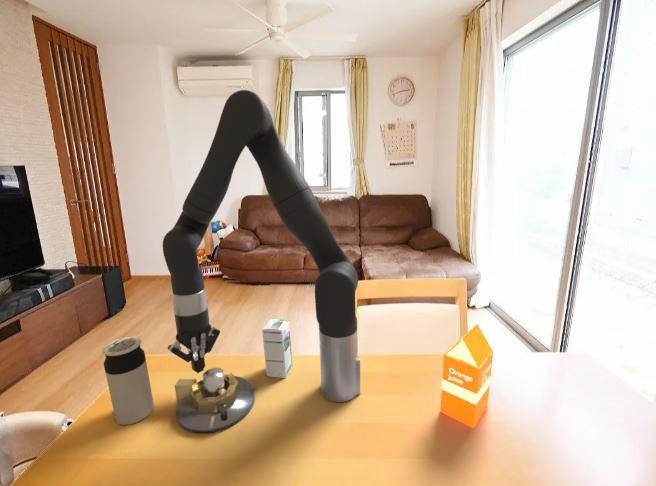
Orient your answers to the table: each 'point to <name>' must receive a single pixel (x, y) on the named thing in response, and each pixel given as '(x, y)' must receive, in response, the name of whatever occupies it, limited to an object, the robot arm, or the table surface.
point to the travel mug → (128, 380)
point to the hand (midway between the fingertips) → (198, 370)
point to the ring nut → (195, 393)
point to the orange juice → (467, 378)
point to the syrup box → (277, 348)
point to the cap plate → (226, 416)
